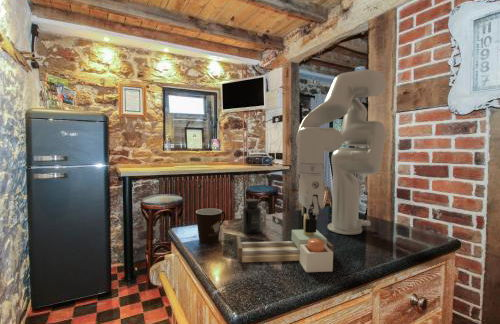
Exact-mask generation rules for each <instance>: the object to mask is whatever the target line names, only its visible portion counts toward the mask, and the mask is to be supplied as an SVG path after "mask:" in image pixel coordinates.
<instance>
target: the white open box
mask: <svg viewBox="0 0 500 324" xmlns="http://www.w3.org/2000/svg"><path fill="white" fill-rule="evenodd" d="M299 264H300V265H301V267H302V268H303V270H304V272H305V273H318V272H319V273H320V272H321V273H323V272H333V271H334V270H333V269H334V251H333V252H332V251H331V250H330V249H329V248H328V247H327V246H326V245H325V244H324V252H309V251H308V244H304V245H300V261H299Z"/></svg>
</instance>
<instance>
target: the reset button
mask: <svg viewBox="0 0 500 324" xmlns="http://www.w3.org/2000/svg"><path fill="white" fill-rule="evenodd" d="M308 251H309V252H324V241H323V240H321V239H316V238H312V239H309V240H308Z"/></svg>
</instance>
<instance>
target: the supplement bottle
mask: <svg viewBox="0 0 500 324" xmlns="http://www.w3.org/2000/svg"><path fill="white" fill-rule="evenodd" d="M244 203H245V206H244V207H243V208H242V231H243V233H244V234H246V235H256V234H257V235H258V234H260V233H261V231H262V209H261V207H260V206H259V199H257V198H248V199H247V198H246V199H245V201H244Z"/></svg>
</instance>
